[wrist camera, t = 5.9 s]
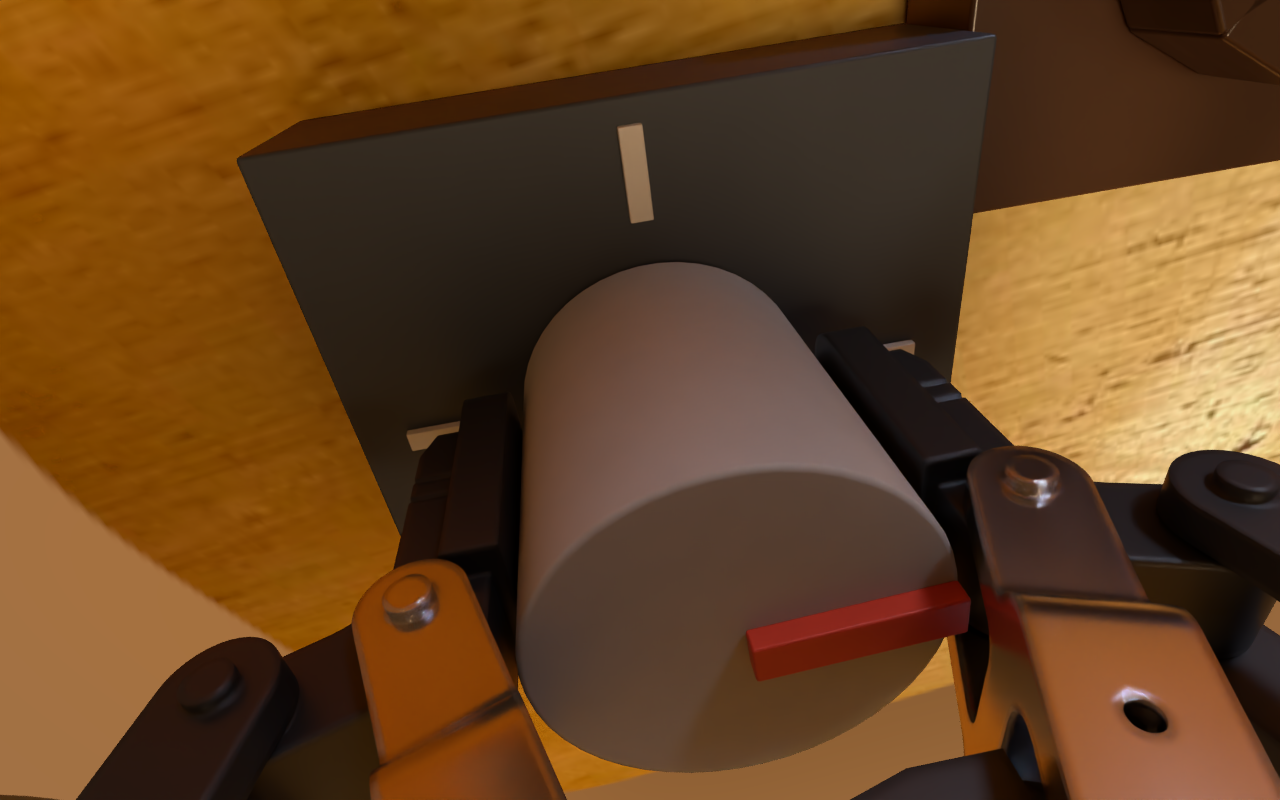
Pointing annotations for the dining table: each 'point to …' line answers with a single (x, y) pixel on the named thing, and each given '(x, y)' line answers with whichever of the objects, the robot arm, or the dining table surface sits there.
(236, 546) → the dining table surface
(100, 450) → the dining table surface
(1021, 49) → the switch block
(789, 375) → the dimmer
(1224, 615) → the robot arm
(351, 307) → the dimmer panel
